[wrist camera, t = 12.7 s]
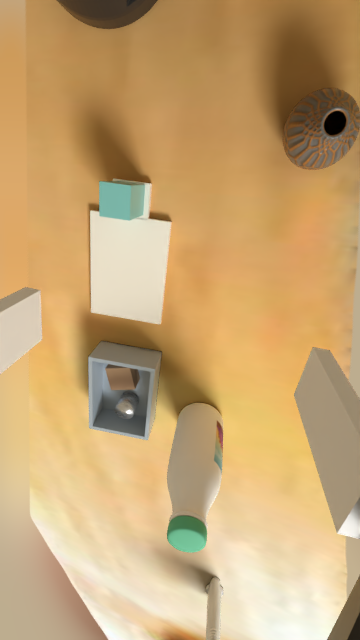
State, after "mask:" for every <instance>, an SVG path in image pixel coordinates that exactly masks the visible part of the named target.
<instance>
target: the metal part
mask: <svg viewBox="0 0 360 640" xmlns="http://www.w3.org/2000/svg"><path fill="white" fill-rule="evenodd" d="M138 403H139V398H138V397H137V395H135V394H134V393H131V392H124V393H123V394H122V395H121V397H120V399H119V401H118V403H117V405H116V407H115V413H116V414H117V415H118V416H119V417H120V418H123V419H130V418H132V417H133V415H134V413H135V410H136V408H137V405H138Z"/></svg>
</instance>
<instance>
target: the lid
mask: <svg viewBox="0 0 360 640" xmlns="http://www.w3.org/2000/svg"><path fill="white" fill-rule="evenodd" d="M151 189H152V183H144V182H137V181H130V180H122V179H113V181H99V211H96V210H90V249H91V313H97V314H103V315H109V316H114V317H120V318H126V319H131V320H137V321H143V322H149V323H154V324H161V321H162V311H163V301H164V292H165V282H166V272H167V263H168V253H169V243H170V234H171V224H172V221H165V220H158V219H151V218H149V217H150V203H151Z"/></svg>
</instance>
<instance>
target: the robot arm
mask: <svg viewBox="0 0 360 640" xmlns="http://www.w3.org/2000/svg"><path fill="white" fill-rule="evenodd" d="M57 1H58V2H59V3H60V4H61V5H62V6H63V7H64V8H65V9H66V10H67V11H68V12H69V13H70V14H71V15H72V16H74V17H75V18H77V19H78V20H80V21H81V22H83V23H85V24H88V25H90V26H93V27H97V28H103V29H113V28H119V27H123V26H126V25H129V24H131V23H133V22H135V21H136V20H138V19H139V18H141V17H142V16H143V15H144V14H146V13H147V12H148V11H149V10H150V9H151V8H152V7H153V5H154V4H155V3H156V2H157V0H57ZM41 340H42V322H41V294H40V290H37V289H32V288H27V287H25V288H23V289H21V290H19V291H17V292H15V293H13V294H11V295H9V296H7V297H5V298H3V299H1V300H0V374H1V373H2V372H3V371H5V370H6V369H7V368H8V367H9V366H11V365H12V364H13V363H14V362H15V361H17V360H18V359H19V358H20V357H22V356H23V355H24V354H25V353H26V352H28V351H29V350H30V349H31V348H33V347H34V346H35V345H36V344H37V343H39V342H40V341H41ZM294 397H295V400H296V403H297V406H298V410H299V413H300V416H301V419H302V422H303V426H304V429H305V432H306V435H307V438H308V442H309V445H310V448H311V451H312V454H313V458H314V461H315V464H316V467H317V470H318V474H319V477H320V480H321V483H322V486H323V490H324V493H325V496H326V499H327V502H328V506H329V509H330V512H331V515H332V518H333V522H334V525H335V528H336V531H337V533H338V534H342V535H346V536H350V537H354V538H358V539H360V399H359V397H358V396H357V394H356V392H355V391H354V389H353V387H352V386H351V384H350V382H349V381H348V379H347V378H346V376H345V374H344V373H343V371H342V369H341V368H340V366H339V365H338V363H337V361H336V360H335V358H334V356H333V355H332V353H331V352H330V350H325V349H320V348H315V347H313V348H312V350H311V353H310V356H309V358H308V361H307V363H306V366H305V368H304V371H303V373H302V376H301V378H300V381H299V383H298V386H297V388H296V391H295V393H294ZM327 640H360V576H359V578H358V580H357V582H356V584H355V586H354V588H353V590H352V592H351V594H350V596H349V598H348V600H347V602H346V604H345V606H344V607H343V609H342V611H341V613H340V615H339V617H338V619H337V621H336V623H335V625H334V627H333V629H332V631H331V633H330V635H329V637H328V639H327Z"/></svg>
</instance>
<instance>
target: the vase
mask: <svg viewBox="0 0 360 640" xmlns="http://www.w3.org/2000/svg"><path fill="white" fill-rule="evenodd" d="M359 128H360V111H359V107H358V105H357V103H356V101H355V100H354V98H353V97H352V96H351V95H350V94H348V93H347V92H345V91H343V90H340V89H336V88H325V89H321V90H317V91H315V92H313V93H311V94H309V95H307V96H306V97H305V98H303V99H302V100H301V101H300V102H299V103H298V104H297V105H296V106H295V107H294V109H293V110H292V112H291V113H290V115H289V117H288V119H287V121H286V124H285V127H284V131H283V146H284V150H285V152H286V155H287V156H288V158H289V159H290V160H291V162H293V163H294V164H295V165H297V166H298V167H301V168H303V169H308V170H318V169H323V168H326V167H328V166H331V165H333V164H334V163H336V162H337V161H339V160H340V159H341V158H342V157H343V156H345V154H346V153H347V152H348V151H349V150H350V148H351V147H352V145H353V144H354V142H355V140H356V138H357V135H358V132H359Z"/></svg>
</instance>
